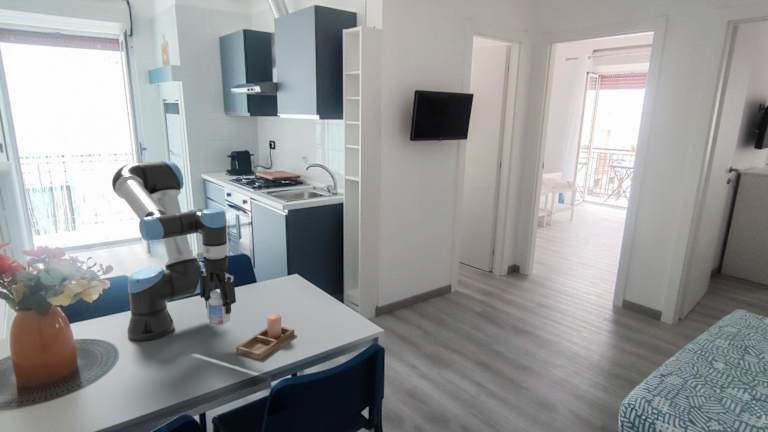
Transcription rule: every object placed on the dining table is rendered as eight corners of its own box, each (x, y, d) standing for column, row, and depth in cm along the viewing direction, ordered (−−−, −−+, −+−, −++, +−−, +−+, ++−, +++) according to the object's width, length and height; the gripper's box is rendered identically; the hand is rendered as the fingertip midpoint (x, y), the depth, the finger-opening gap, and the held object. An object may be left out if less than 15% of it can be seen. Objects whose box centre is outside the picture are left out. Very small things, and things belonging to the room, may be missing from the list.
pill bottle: (222, 327, 145) (220, 296, 142) (205, 325, 146) (204, 294, 144) (231, 319, 151) (230, 289, 148) (216, 317, 152) (214, 287, 149)
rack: (234, 354, 146) (233, 346, 145) (270, 330, 163) (269, 323, 162) (262, 363, 141) (262, 355, 141) (296, 337, 158) (296, 330, 158)
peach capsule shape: (264, 339, 155) (263, 318, 153) (273, 333, 159) (272, 313, 158) (276, 342, 153) (275, 321, 151) (284, 336, 157) (284, 315, 156)
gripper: (185, 254, 143) (189, 318, 149) (229, 264, 136) (232, 330, 141) (202, 248, 150) (206, 309, 155) (246, 257, 143) (248, 321, 148)
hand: (219, 319), depth 148 cm, fingers closed on pill bottle, 6 cm apart
